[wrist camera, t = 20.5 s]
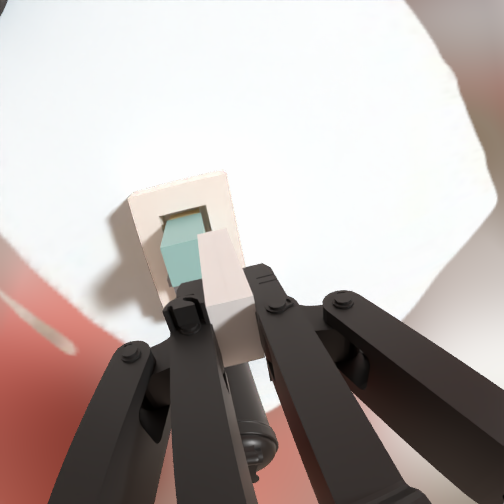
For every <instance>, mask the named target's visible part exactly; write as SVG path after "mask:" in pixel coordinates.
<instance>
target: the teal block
mask: <svg viewBox="0 0 504 504" xmlns="http://www.w3.org/2000/svg"><path fill="white" fill-rule="evenodd" d="M201 233H206V232H205V228H204V224H203V220H202V216H201V212H200V211H199V208H198V209H194V210H190V211H186V212H182V213H178V214H174V215H170V219H169V220H168V221H167V222H166V226H165V230H164V234H163V238H162V242H161V246H160V250H161V253H162V256H163V259H164V262H165V265H166V269H167V272H168V275H169V278H170V281H171V284H172V287H176V286H180V284H181V283H185V282H189V281H193V280H198V279H202V274H201V265H200V257H199V248H198V238H197V234H201Z"/></svg>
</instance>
